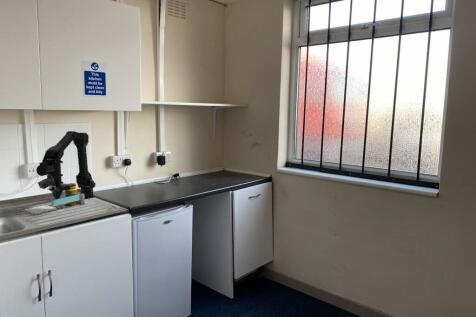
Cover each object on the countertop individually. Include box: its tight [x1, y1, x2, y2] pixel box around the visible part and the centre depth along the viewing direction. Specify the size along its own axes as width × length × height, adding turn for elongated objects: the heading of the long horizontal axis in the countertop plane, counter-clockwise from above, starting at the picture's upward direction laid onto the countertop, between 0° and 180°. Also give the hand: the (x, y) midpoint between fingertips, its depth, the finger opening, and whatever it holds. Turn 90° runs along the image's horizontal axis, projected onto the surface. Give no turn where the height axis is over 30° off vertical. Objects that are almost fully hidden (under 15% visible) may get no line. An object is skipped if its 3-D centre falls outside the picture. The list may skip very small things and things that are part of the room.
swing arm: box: [51, 193, 81, 207], centre depth 197 cm, size 16×1×3 cm, turn 147°
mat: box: [24, 204, 58, 215], centre depth 194 cm, size 11×11×1 cm
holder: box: [55, 193, 86, 209], centre depth 203 cm, size 12×12×6 cm
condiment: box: [64, 182, 81, 208], centre depth 203 cm, size 7×8×12 cm
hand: (56, 201), depth 194 cm, fingers closed
